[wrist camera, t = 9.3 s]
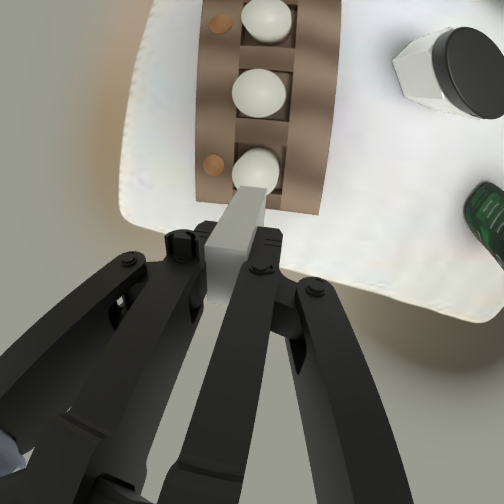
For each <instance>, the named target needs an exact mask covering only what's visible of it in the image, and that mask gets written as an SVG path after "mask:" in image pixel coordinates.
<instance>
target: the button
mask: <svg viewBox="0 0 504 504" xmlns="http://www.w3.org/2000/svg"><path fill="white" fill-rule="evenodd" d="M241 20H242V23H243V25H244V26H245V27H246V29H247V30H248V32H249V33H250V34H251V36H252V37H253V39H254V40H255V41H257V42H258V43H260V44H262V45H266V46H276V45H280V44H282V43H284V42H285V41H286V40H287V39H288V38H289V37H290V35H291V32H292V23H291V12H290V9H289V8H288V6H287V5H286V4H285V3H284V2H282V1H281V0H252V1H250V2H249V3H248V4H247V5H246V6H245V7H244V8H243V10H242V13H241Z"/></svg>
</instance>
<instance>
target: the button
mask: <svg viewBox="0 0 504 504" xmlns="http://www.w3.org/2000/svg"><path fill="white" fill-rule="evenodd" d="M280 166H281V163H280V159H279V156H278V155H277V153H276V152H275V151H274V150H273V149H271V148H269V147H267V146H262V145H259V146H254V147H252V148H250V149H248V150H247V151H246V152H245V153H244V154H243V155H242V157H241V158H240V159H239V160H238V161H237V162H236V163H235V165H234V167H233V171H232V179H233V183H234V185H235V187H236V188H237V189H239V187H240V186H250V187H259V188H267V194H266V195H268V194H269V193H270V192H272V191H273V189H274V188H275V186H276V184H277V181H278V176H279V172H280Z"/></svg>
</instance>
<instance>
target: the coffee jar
mask: <svg viewBox="0 0 504 504" xmlns="http://www.w3.org/2000/svg"><path fill="white" fill-rule="evenodd" d="M465 216H466V220H467V223H468V225H469V227H470V229H471V231H472V232H473V234H474V235H475V236H476V238H477V239H478V240H479V241H480V242H481V243H482V244H483V246H484V247H485V248H486V249H487V250H488V251H489V252H490V253H491V255H492V256H493V257H494V258H495V260H496V261H497V262H498V263H499V265H500V266H501V267H502V268H503V270H504V191H503V190H502V189H500V188H499V187H498V186H496V185H495V184H493V183H485V184H484V185H482V186H481V187H480V188H479V189H478V190H477V191H476V192H475V193H474V194H473V196H472V197H471V199H470V201H469V202H468V204H467V207H466V211H465Z"/></svg>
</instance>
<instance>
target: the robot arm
mask: <svg viewBox="0 0 504 504" xmlns="http://www.w3.org/2000/svg"><path fill="white" fill-rule="evenodd" d="M266 194H267V188H259V187H250V186H240V187H239V189H238V190H237V192H236V193H235V195H234V197H233V198H232V200H231V202H230V203H229V205H228V206H227V208H226V210H225V211H224V213H223V215H222V216H221V218H220V220H219V221H218V222H214V221H204V222H202V223H200V224H198V225H197V227H196V228H195V230H194V231H192V230H187V229H180V230H174V231H172V232H169V233H168V234H166V235H165V245H166V253H167V255H166V257H165V258H164V260H163V261H158V262H146V258H145V256H144V255H143V254H142V253H140V252H136V251H132V252H131V251H130V252H126V253H123V254H121V255H119V256H117V257H116V258H115V259H113V260H112V261H111V262H109V263H108V264H107V265H105V266H104V267H103V268H101V269H100V270H99V271H97V272H96V273H95V274H93V275H92V276H91V277H90V278H88V279H87V280H86V281H85V282H84V283H82V284H81V285H80V286H78V287H77V288H76V289H75V290H73V291H72V292H71V293H70V294H69V295H67V296H66V297H65V298H64V299H62V300H61V301H60V302H59V303H58V304H57V305H56V306H54V307H53V308H52V309H51V310H50V311H48V312H47V313H46V314H45V315H44V316H43V317H42V318H40V319H39V320H38V321H37V322H36V323H35V324H34V325H33V326H32V327H30V328H29V329H28V330H27V331H26V332H25V333H24V334H23V335H22V336H21V337H20V338H19V339H18V340H16V341H15V342H14V343H13V344H12V345H11V346H10V347H9V348H8V349H7V350H6V351H5V352H4V353H3V354H2V355H1V356H0V504H153V503H151V502H150V501H148V500H146V499H145V498H143V497H142V496H140V495H141V491H142V489H143V486H144V483H145V479H146V475H147V469H146V460H147V457H148V454H149V451H150V448H151V446H152V443H153V440H154V437H155V434H156V432H157V429H158V426H159V424H160V421H161V418H162V416H163V413H164V410H165V408H166V405H167V402H168V400H169V397H170V394H171V392H172V389H173V386H174V384H175V381H176V379H177V376H178V373H179V371H180V369H181V366H182V363H183V361H184V358H185V355H186V353H187V350H188V348H189V345H190V343H191V341H192V338H193V336H194V333H195V330H196V328H197V326H198V323H199V320H200V318H201V316H202V313H203V309H204V304H203V300H204V298H205V295H206V293H207V302H208V303H214V304H219V305H225V306H228V307H227V310H226V314H225V317H224V320H223V323H222V326H221V329H220V332H219V335H218V338H217V341H216V344H215V347H214V350H213V354H212V356H211V359H210V362H209V366H208V369H207V372H206V375H205V378H204V381H203V384H202V387H201V390H200V393H199V396H198V399H197V403H196V406H195V409H194V412H193V415H192V418H191V421H190V424H189V428H188V431H187V434H186V437H185V440H184V443H183V446H182V449H181V453H180V455H179V458H178V459H177V461H176V462H175V463H174V464H173V465H172V466H171V468H170V469H169V471H168V473H167V475H166V478H165V480H164V483H163V487H162V489H161V492H160V495H159V499H158V502H157V504H238V503H239V498H240V494H241V489H242V484H243V479H244V473H245V469H246V464H247V459H248V454H249V449H250V444H251V438H252V433H253V428H254V422H255V417H256V411H257V406H258V400H259V395H260V389H261V383H262V377H263V371H264V365H265V358H266V352H267V346H268V340H269V333H270V331H272V332H274V333H277V334H279V335H281V336H284V337H285V342H286V346H287V351H288V356H289V361H290V366H291V370H292V375H293V380H294V384H295V390H296V395H297V399H298V405H299V410H300V414H301V420H302V424H303V430H304V435H305V440H306V445H307V451H308V456H309V461H310V466H311V472H312V477H313V482H314V487H315V493H316V499H317V504H414V503H413V499H412V495H411V492H410V488H409V484H408V480H407V477H406V473H405V470H404V467H403V463H402V460H401V457H400V454H399V451H398V448H397V444H396V441H395V438H394V435H393V432H392V429H391V426H390V424H389V421H388V418H387V415H386V412H385V410H384V407H383V404H382V401H381V399H380V396H379V393H378V391H377V388H376V385H375V383H374V380H373V378H372V375H371V372H370V370H369V367H368V365H367V363H366V360H365V358H364V355H363V353H362V351H361V348H360V345H359V343H358V341H357V339H356V336H355V334H354V331H353V329H352V327H351V325H350V322H349V320H348V318H347V315H346V313H345V311H344V309H343V306H342V304H341V302H340V300H339V298H338V296H337V293H336V291H335V289H334V287H333V286H332V285H331V284H330V283H329V282H328V281H326V280H324V279H321V278H319V277H306V278H303V279H301V280H299V282H298V283H297V282H294V281H292V280H290V279H288V278H286V277H285V276H284V275H283V274H282V273H281V272H280V270H279V262H280V254H281V246H282V238H283V234H282V233H281V231H280V230H279V229H276V228H268V227H264V216H265V205H266ZM121 296H122V299H123V303H122V304H121V305H118V304H117V300H118V299H119V298H120V297H121ZM71 406H72V407H71ZM70 407H71V408H70ZM69 408H70V410H69V411H68V409H69ZM67 411H68V412H67ZM34 447H35V448H34ZM33 448H34V450H33V453H32V455H31V457H30V459H29V462H28V464H27V467H26V468H25V466H26V461H25V458H24V457H23V456H22V455H23V454H25V453H27V452H28V451H30V450H31V449H33ZM16 468H17V469H19V471H16V472H13V471H14V470H15V469H16ZM12 472H13V473H12Z"/></svg>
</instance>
